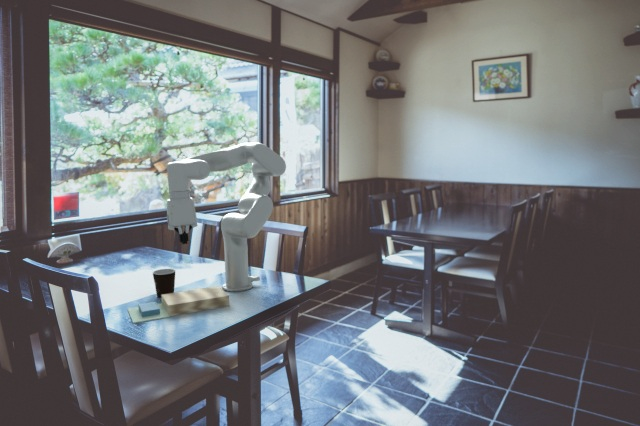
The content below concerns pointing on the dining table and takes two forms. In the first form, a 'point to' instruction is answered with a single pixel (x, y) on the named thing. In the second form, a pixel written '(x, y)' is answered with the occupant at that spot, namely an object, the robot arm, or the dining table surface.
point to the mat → (138, 317)
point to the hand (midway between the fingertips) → (184, 243)
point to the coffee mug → (164, 281)
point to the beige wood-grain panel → (194, 300)
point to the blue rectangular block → (149, 309)
